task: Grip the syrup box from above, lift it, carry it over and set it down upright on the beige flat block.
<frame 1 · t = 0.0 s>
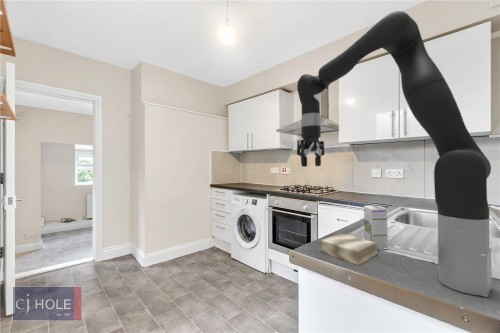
hand: (311, 166, 91), 29 cm above the counter, tool pointing down, fingers open, 8 cm apart
beige flat block: (348, 253, 76), on the counter
syrup box: (375, 247, 82), on the counter
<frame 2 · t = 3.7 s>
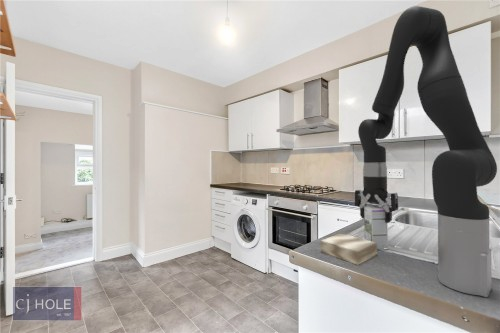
hand: (375, 220, 82), 10 cm above the counter, tool pointing down, fingers closed on syrup box, 8 cm apart
syrup box: (375, 247, 82), on the counter, touching gripper
when the fingers open (15 cm above the counter, at t = 9.7 s): syrup box drops 1 cm, resting on beige flat block.
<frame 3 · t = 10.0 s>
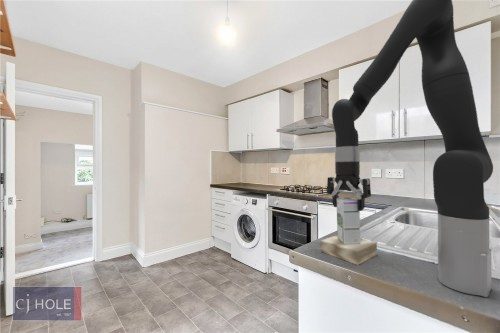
hand: (347, 208, 76), 15 cm above the counter, tool pointing down, fingers open, 8 cm apart
syrup box: (348, 242, 76), point 4 cm above the counter, touching beige flat block
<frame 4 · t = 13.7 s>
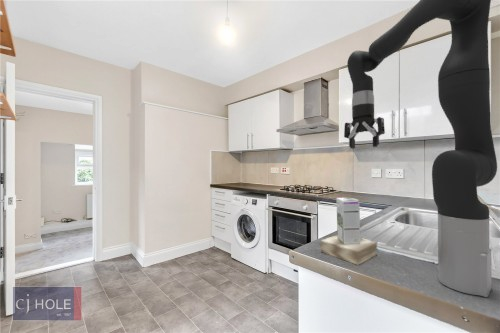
hand: (363, 147, 86), 36 cm above the counter, tool pointing down, fingers open, 8 cm apart
nothing on the counter moved.
at the end: syrup box inside the target area on the beige flat block (0.1 cm from its centre), point 3.8 cm above the beige flat block's base; syrup box tilted 0°; the gripper is holding nothing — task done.
